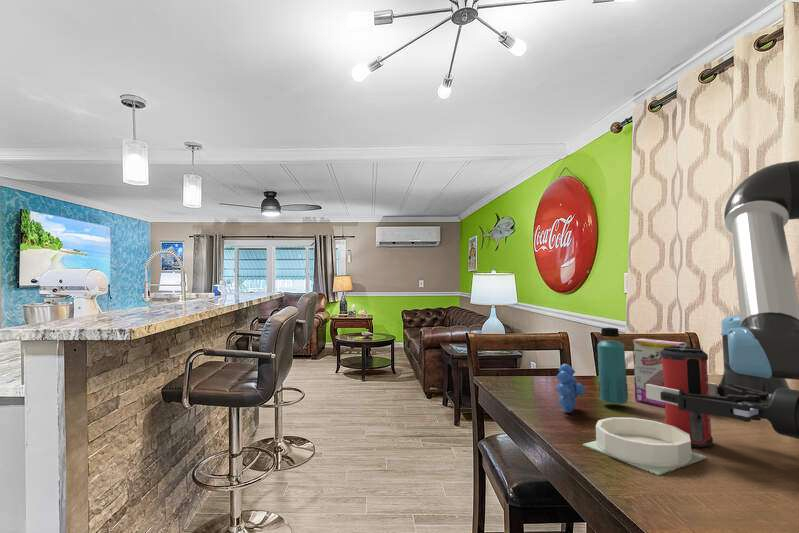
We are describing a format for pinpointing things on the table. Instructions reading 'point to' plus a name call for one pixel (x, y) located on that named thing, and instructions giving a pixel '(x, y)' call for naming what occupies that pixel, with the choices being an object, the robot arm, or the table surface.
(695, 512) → the table surface
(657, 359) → the candy bar box
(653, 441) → the bowl
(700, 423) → the speaker
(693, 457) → the mat
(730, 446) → the table surface
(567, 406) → the grapes
